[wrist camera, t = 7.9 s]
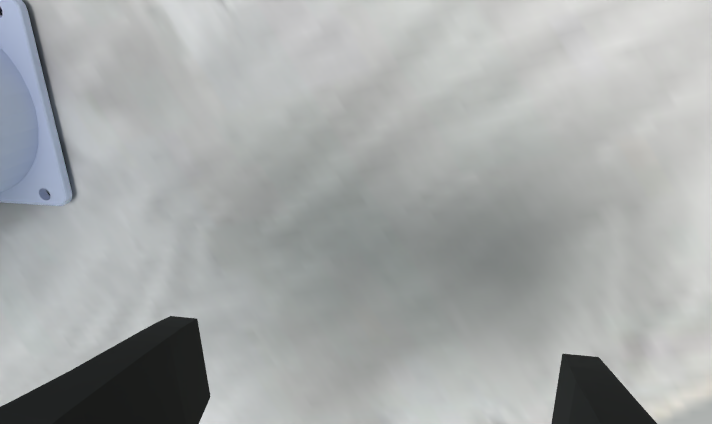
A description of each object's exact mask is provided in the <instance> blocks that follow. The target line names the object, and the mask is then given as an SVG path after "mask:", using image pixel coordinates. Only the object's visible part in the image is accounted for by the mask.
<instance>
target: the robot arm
mask: <svg viewBox="0 0 712 424" xmlns="http://www.w3.org/2000/svg"><path fill="white" fill-rule="evenodd" d="M0 7H1V9H2V16H1V15H0V202H3V203H19V204H35V205H51V206H62V205H65V204H67V203H68V202H70V201H71V199H72V191H71V187H70V182H69V178H68V174H67V170H66V166H65V162H64V158H63V154H62V150H61V146H60V141H59V137H58V133H57V129H56V125H55V121H54V117H53V113H52V109H51V105H50V100H49V96H48V92H47V88H46V84H45V80H44V76H43V72H42V68H41V64H40V59H39V55H38V51H37V47H36V43H35V39H34V35H33V31H32V27H31V23H30V18H29V14H28V10H27V8H26V5H25V4H24V3H23V1H22V0H0ZM46 190H47V191H49V193H50V196H49V195H48V194H47V192H46ZM209 399H210V392H209V386H208V380H207V374H206V368H205V362H204V356H203V350H202V345H201V339H200V333H199V327H198V321H197V319H194V318H184V317H174V316H170V317H168V318H166V319H164V320H161V321H159V322H157V323H155V324H153V325H152V326H150V327H148V328H146V329H144V330H142V331H140V332H139V333H137V334H135V335H133V336H131V337H130V338H128V339H126V340H124V341H123V342H121V343H119V344H117V345H115V346H114V347H112V348H110V349H108V350H107V351H105V352H103V353H101V354H99V355H98V356H96V357H94V358H92V359H90V360H89V361H87V362H85V363H83V364H82V365H80V366H78V367H76V368H74V369H73V370H71V371H69V372H67V373H65V374H63V375H61V376H59V377H57V378H56V379H54V380H52V381H50V382H48V383H46V384H44V385H42V386H40V387H38V388H36V389H34V390H33V391H31V392H29V393H27V394H25V395H23V396H21V397H19V398H17V399H15V400H13V401H11V402H9V403H7V404H5V405H3V406H1V407H0V424H199V422H200V419H201V417H202V415H203V412H204V410H205V408H206V405H207V403H208V401H209ZM552 424H657V423H656V422H655V421H654V420H653V419H652V417H651V416H650V415H649V414H648V413H647V412H646V411H645V410H644V408H643V407H642V406H641V405H640V404H639V403H638V402H637V401H636V399H635V398H634V397H633V396H632V395H631V394H630V393H629V391H628V390H627V389H626V388H625V387H624V386H623V384H622V383H621V382H620V381H619V380H618V379H617V378H616V376H615V375H614V374H613V373H612V372H611V371H610V370H609V368H608V367H607V366H606V365H605V364H604V363H603V362H602V361H601V359H600V358H599V357H591V356H581V355H570V354H562V360H561V367H560V373H559V380H558V386H557V392H556V399H555V405H554V412H553V418H552Z"/></svg>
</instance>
